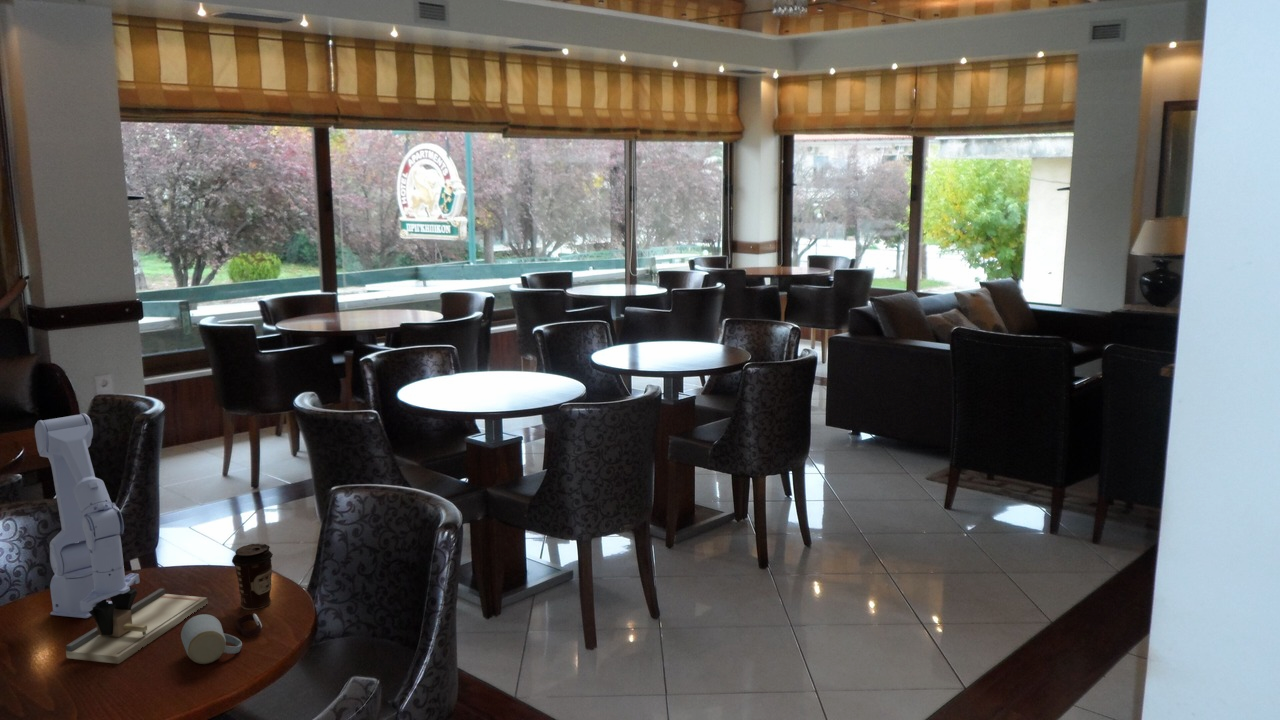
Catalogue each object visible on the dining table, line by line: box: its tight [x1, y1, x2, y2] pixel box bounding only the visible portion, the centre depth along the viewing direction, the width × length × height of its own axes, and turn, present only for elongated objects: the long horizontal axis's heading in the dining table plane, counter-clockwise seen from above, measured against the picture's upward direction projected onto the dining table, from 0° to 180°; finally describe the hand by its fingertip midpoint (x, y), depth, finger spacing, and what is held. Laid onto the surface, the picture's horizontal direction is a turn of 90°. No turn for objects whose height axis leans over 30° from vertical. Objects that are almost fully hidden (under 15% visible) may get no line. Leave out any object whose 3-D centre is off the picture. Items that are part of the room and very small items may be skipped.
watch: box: [236, 613, 263, 638], centre depth 211 cm, size 8×5×4 cm, turn 38°
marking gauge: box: [96, 609, 147, 637], centre depth 207 cm, size 10×4×4 cm, turn 78°
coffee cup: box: [231, 543, 274, 611], centre depth 223 cm, size 9×8×13 cm
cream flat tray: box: [65, 587, 209, 664], centre depth 212 cm, size 12×28×3 cm, turn 168°
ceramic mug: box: [180, 613, 243, 665], centre depth 200 cm, size 11×8×8 cm
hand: (115, 629), depth 207 cm, fingers closed on marking gauge, 4 cm apart
